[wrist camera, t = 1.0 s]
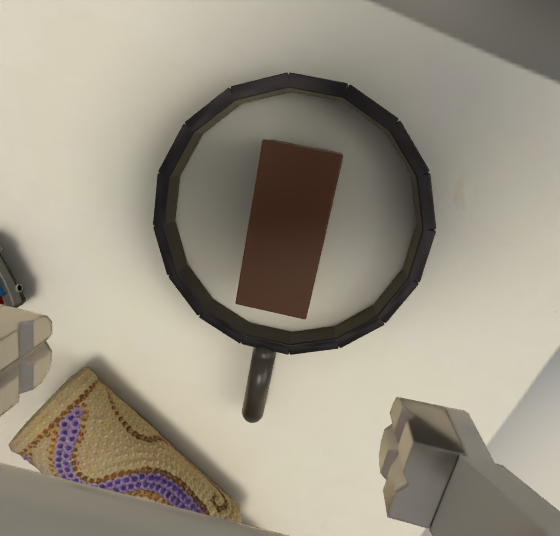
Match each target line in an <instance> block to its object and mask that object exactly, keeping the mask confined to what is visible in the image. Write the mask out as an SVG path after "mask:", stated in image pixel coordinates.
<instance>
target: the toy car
mask: <svg viewBox="0 0 560 536" xmlns="http://www.w3.org/2000/svg"><path fill="white" fill-rule="evenodd" d="M0 251H2V247H1V246H0ZM22 290H23V286H22V285H21V284H17V283H16V281H15V279H14V277H13V275H12V273H11V272H10V270H9V268H8V266H7V264H6V262H5V261H4V259H3V257H2V255H1V253H0V304H3V305H6V306H10V307H14V308H17V307H19V306H20V305H22V304H23V303H24V302H25V301H26V299H25V297H23V293H22V292H21V291H22Z"/></svg>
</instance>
